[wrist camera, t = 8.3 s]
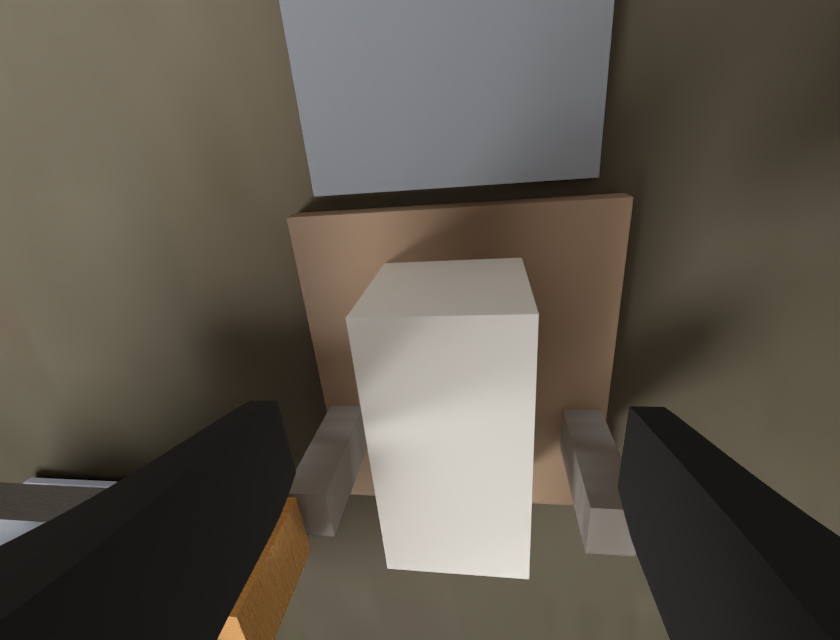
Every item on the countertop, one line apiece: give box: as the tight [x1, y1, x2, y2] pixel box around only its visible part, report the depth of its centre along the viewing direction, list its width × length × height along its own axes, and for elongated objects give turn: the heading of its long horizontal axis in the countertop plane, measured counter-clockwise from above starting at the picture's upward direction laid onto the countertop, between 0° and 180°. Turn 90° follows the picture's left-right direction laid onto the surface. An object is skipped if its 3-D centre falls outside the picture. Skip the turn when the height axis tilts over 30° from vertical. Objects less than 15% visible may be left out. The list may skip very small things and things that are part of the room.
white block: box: [346, 258, 539, 579], centre depth 12 cm, size 4×8×4 cm, turn 5°
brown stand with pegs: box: [287, 193, 636, 556], centre depth 12 cm, size 10×11×5 cm
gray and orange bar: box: [0, 483, 311, 640], centre depth 11 cm, size 10×2×3 cm, turn 95°
